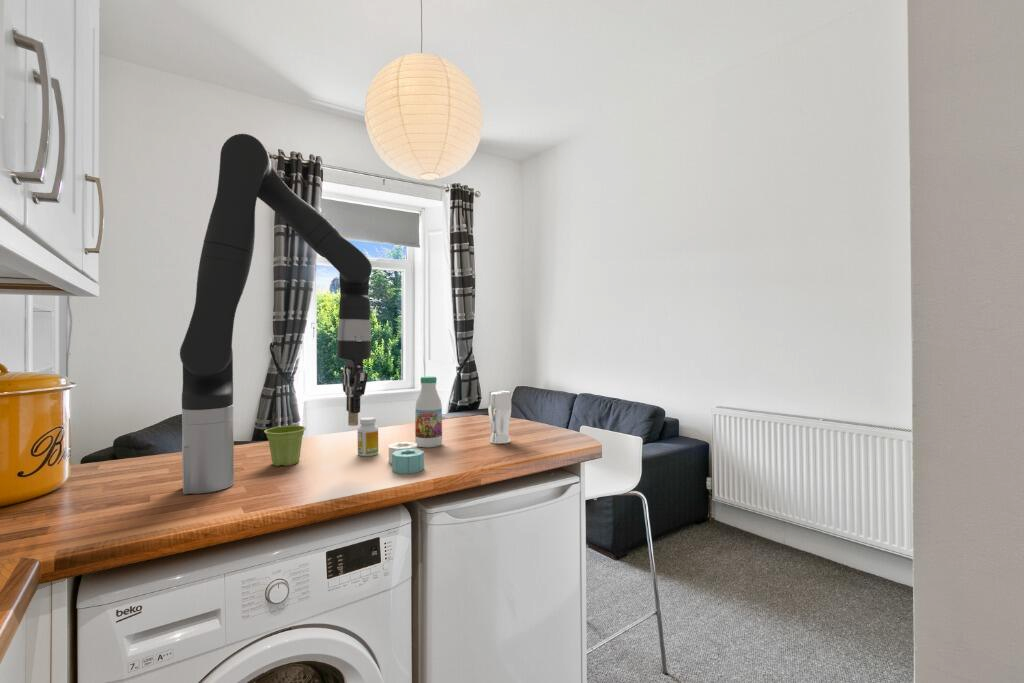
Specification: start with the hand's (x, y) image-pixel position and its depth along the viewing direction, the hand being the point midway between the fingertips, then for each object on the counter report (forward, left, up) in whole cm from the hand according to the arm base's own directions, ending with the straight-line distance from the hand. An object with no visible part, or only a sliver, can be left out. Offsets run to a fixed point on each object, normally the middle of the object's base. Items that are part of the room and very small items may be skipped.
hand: (353, 411), depth 114 cm
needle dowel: (0, 0, -3) cm, 3 cm away
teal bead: (+11, -6, -14) cm, 19 cm away
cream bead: (+13, +2, -14) cm, 19 cm away
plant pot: (-12, +17, -14) cm, 25 cm away
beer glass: (+45, +5, -14) cm, 48 cm away
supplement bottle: (+8, +14, -14) cm, 22 cm away
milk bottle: (+26, +14, -14) cm, 33 cm away
